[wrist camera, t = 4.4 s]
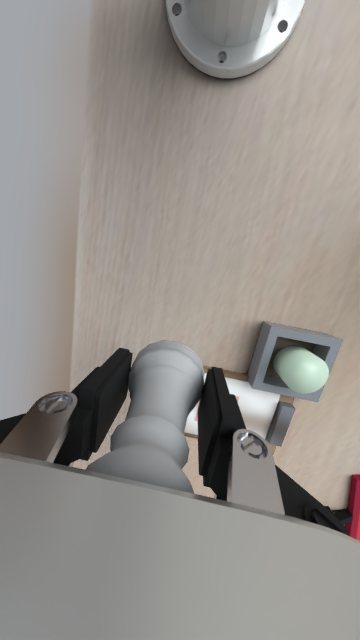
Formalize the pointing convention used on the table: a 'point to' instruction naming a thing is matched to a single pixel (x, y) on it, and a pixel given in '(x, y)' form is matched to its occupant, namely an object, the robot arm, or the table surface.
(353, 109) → the table surface
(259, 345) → the button housing
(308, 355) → the button
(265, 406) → the clipboard
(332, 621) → the robot arm
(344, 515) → the red board with handle
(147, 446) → the rook chess piece
